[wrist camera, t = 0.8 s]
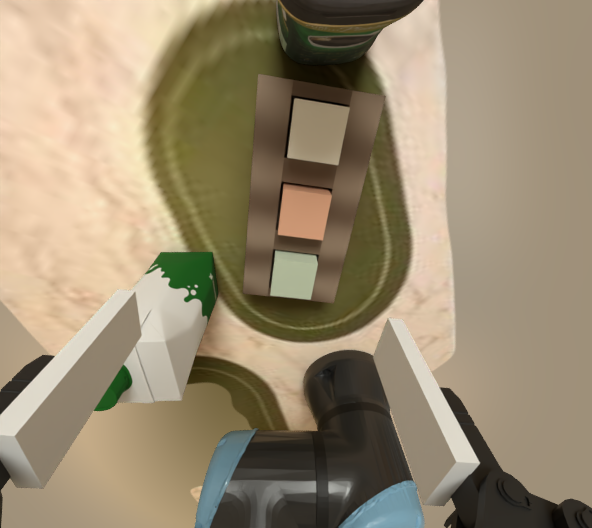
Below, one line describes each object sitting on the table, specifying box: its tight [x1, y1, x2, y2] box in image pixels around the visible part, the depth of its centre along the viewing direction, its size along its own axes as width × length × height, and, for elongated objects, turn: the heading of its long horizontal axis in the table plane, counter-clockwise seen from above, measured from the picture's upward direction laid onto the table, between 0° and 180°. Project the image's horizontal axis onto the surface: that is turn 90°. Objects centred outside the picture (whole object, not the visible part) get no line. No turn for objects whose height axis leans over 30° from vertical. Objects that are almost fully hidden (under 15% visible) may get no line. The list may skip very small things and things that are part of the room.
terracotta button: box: [278, 182, 332, 240], centre depth 32 cm, size 5×5×4 cm
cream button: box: [287, 98, 350, 165], centre depth 28 cm, size 5×5×4 cm
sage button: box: [270, 249, 318, 300], centre depth 35 cm, size 5×5×4 cm
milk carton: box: [94, 252, 218, 411], centre depth 32 cm, size 9×9×20 cm
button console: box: [243, 74, 386, 303], centre depth 34 cm, size 24×12×5 cm, turn 172°
